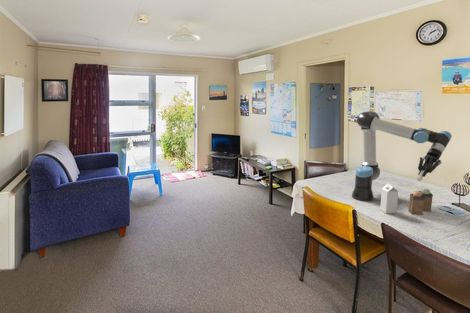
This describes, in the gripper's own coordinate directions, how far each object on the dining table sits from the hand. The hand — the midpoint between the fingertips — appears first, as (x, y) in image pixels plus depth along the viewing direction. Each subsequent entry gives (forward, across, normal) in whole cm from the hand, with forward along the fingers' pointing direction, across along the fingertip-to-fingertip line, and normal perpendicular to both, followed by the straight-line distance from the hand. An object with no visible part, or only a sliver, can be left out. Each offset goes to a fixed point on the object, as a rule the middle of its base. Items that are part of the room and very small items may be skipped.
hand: (418, 179), depth 186 cm
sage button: (+2, 0, -16) cm, 16 cm away
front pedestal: (+16, 0, -16) cm, 23 cm away
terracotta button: (+9, 0, -9) cm, 13 cm away
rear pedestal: (+9, 0, -23) cm, 25 cm away
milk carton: (+25, +11, -7) cm, 28 cm away
